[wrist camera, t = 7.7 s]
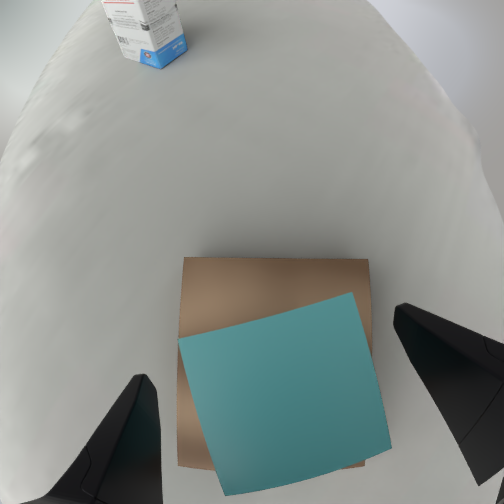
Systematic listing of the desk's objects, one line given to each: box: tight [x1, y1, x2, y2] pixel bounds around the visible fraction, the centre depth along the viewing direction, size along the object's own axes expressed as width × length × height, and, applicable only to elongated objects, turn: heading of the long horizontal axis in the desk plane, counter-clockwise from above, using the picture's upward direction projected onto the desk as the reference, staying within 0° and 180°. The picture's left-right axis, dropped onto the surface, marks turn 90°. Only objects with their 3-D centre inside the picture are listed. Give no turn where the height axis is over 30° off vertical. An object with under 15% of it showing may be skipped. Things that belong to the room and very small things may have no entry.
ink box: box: [101, 0, 187, 69], centre depth 23 cm, size 8×5×15 cm, turn 52°
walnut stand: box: [177, 257, 372, 471], centre depth 18 cm, size 14×12×2 cm
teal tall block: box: [178, 292, 392, 496], centre depth 12 cm, size 5×5×10 cm
